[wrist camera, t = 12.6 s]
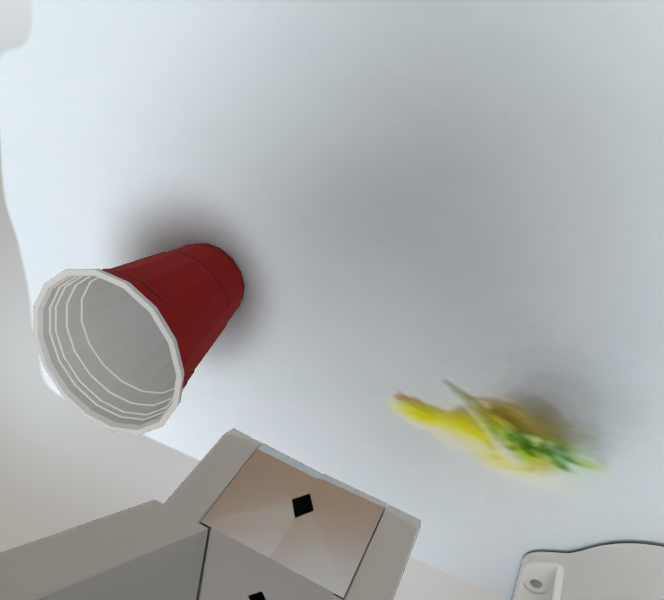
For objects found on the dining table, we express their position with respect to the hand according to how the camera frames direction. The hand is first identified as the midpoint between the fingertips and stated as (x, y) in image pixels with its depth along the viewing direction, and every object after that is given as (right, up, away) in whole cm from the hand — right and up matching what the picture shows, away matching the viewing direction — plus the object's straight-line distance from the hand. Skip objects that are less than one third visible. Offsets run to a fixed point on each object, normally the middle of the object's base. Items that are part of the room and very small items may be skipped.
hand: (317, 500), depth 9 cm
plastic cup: (-9, +5, +38) cm, 39 cm away
